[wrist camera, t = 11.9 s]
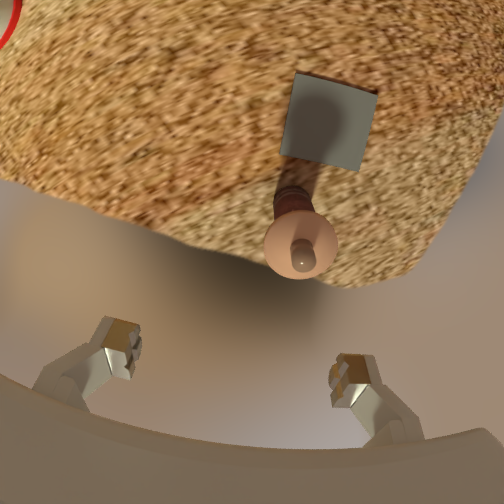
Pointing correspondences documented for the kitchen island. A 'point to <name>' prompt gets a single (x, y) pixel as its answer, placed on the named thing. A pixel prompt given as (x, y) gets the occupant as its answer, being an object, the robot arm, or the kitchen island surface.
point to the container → (8, 18)
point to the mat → (327, 122)
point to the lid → (300, 244)
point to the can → (291, 201)
